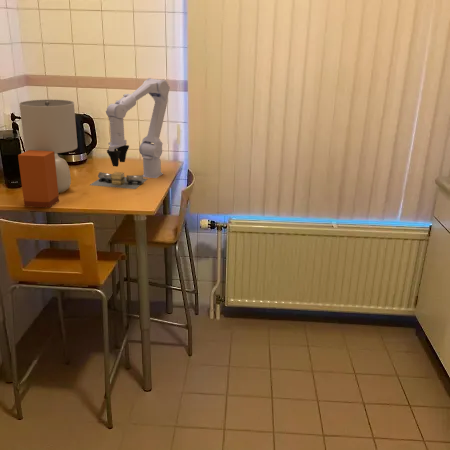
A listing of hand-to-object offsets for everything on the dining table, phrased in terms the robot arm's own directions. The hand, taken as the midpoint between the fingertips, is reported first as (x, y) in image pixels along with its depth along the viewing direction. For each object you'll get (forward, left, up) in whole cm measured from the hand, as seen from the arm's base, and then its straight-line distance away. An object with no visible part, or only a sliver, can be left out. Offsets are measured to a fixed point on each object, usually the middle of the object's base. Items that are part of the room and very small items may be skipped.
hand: (119, 164), depth 214 cm
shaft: (-2, -7, -9) cm, 12 cm away
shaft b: (-2, +6, -9) cm, 11 cm away
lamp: (+15, -22, -10) cm, 29 cm away
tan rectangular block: (0, -1, -9) cm, 9 cm away
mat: (-2, -1, -9) cm, 10 cm away
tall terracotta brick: (+31, -19, -10) cm, 38 cm away
